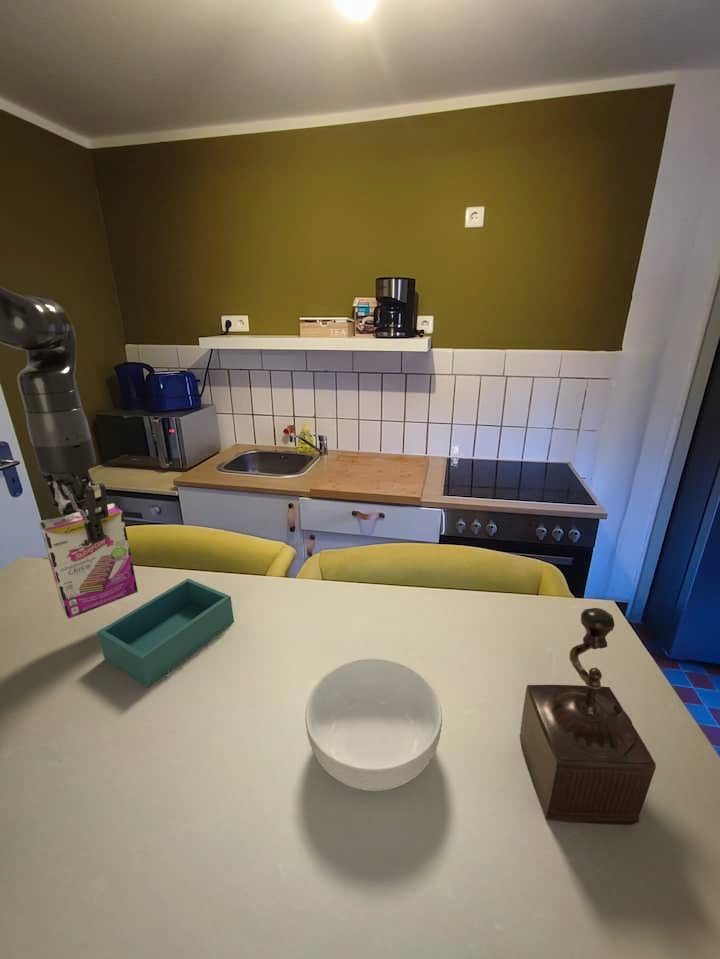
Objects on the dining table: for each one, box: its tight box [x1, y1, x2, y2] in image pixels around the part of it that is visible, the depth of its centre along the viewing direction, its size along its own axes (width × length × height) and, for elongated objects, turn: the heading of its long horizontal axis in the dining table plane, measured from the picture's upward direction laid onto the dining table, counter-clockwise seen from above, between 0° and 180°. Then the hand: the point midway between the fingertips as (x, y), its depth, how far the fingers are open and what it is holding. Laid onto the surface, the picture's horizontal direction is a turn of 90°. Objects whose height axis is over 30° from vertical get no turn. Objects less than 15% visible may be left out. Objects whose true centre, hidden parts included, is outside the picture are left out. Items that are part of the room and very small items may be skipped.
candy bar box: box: [38, 503, 139, 619], centre depth 72 cm, size 11×5×16 cm, turn 135°
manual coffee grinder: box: [519, 607, 657, 826], centre depth 51 cm, size 16×11×18 cm
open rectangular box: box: [96, 578, 235, 688], centre depth 74 cm, size 12×18×6 cm, turn 150°
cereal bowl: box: [304, 657, 443, 792], centre depth 55 cm, size 17×17×7 cm
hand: (86, 536), depth 71 cm, fingers closed on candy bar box, 5 cm apart
